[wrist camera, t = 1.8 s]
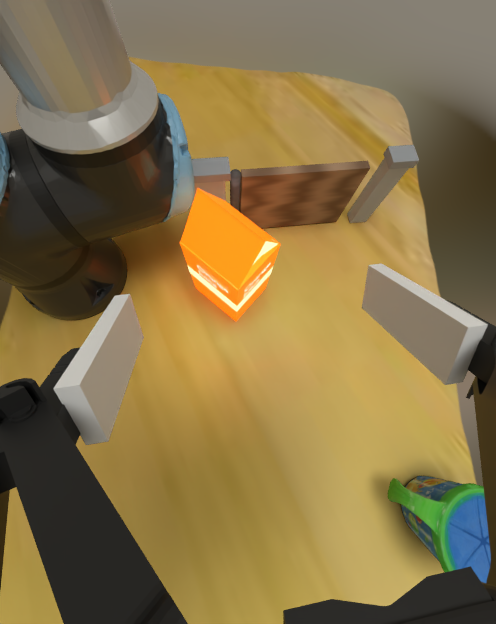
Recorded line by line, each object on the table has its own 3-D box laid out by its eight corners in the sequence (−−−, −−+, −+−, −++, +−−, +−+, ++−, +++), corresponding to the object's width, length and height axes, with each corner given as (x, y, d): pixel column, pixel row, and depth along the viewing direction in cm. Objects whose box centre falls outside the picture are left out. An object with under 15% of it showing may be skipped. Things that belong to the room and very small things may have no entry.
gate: (231, 231, 47) (230, 178, 35) (229, 218, 48) (228, 162, 36) (336, 221, 49) (370, 168, 37) (333, 210, 49) (365, 153, 37)
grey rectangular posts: (201, 238, 47) (188, 176, 33) (199, 224, 47) (186, 159, 34) (367, 223, 49) (419, 160, 36) (364, 210, 50) (413, 144, 36)
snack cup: (358, 506, 37) (403, 549, 27) (390, 437, 40) (442, 453, 30) (461, 580, 36) (548, 653, 26) (488, 502, 38) (576, 542, 28)
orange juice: (235, 322, 43) (239, 270, 24) (194, 288, 44) (166, 212, 25) (266, 287, 45) (292, 214, 26) (226, 255, 46) (222, 162, 27)
